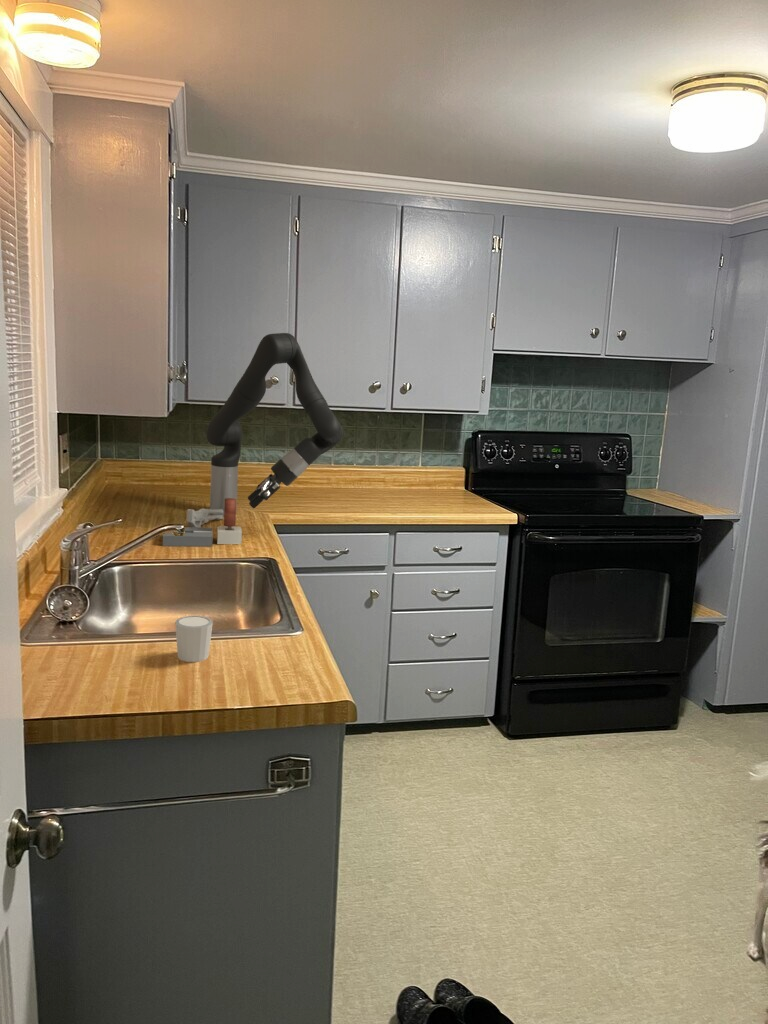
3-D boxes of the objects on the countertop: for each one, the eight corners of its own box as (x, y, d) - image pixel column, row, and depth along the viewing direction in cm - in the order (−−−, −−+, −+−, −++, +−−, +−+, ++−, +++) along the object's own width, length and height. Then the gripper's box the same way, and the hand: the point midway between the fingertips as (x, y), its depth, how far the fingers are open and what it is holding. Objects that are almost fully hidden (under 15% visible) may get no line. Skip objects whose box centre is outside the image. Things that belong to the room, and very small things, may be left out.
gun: (184, 533, 234) (187, 508, 234) (217, 530, 264) (219, 507, 263) (190, 534, 234) (193, 509, 234) (222, 530, 263) (225, 508, 263)
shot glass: (182, 666, 141) (183, 629, 140) (168, 653, 146) (169, 618, 145) (217, 659, 145) (218, 624, 144) (203, 647, 150) (204, 613, 149)
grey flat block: (164, 536, 234) (165, 526, 233) (212, 537, 237) (212, 527, 237) (162, 546, 223) (162, 535, 222) (212, 546, 226) (212, 536, 225)
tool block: (217, 539, 235) (217, 526, 234) (240, 539, 237) (240, 526, 236) (217, 544, 228) (217, 531, 228) (241, 545, 230) (241, 532, 229)
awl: (223, 540, 234) (224, 498, 231) (234, 540, 235) (236, 498, 232) (223, 543, 231) (224, 500, 228) (235, 543, 231) (236, 500, 229)
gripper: (279, 454, 238) (240, 490, 237) (284, 461, 224) (242, 498, 224) (295, 472, 240) (257, 507, 240) (301, 480, 226) (260, 517, 226)
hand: (250, 503), depth 232 cm, fingers open, 8 cm apart
